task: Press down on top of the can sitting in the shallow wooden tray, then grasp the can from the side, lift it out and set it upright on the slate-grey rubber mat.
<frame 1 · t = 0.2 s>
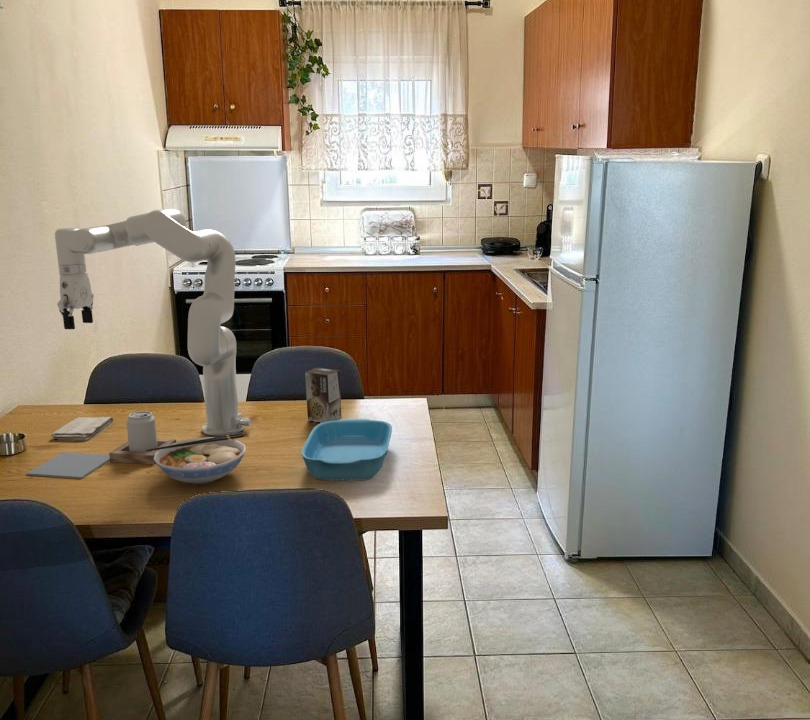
hand: (79, 325, 244), 31 cm above the table, tool pointing down, fingers open, 9 cm apart
casserole dish: (349, 463, 215), on the table
washcloth: (83, 433, 243), on the table
can: (144, 455, 222), resting in shallow wooden tray
ramen bowl: (202, 479, 204), on the table
grey mat: (72, 465, 215), on the table
shallow wooden tray: (144, 454, 222), on the table
coffee box: (324, 421, 250), on the table
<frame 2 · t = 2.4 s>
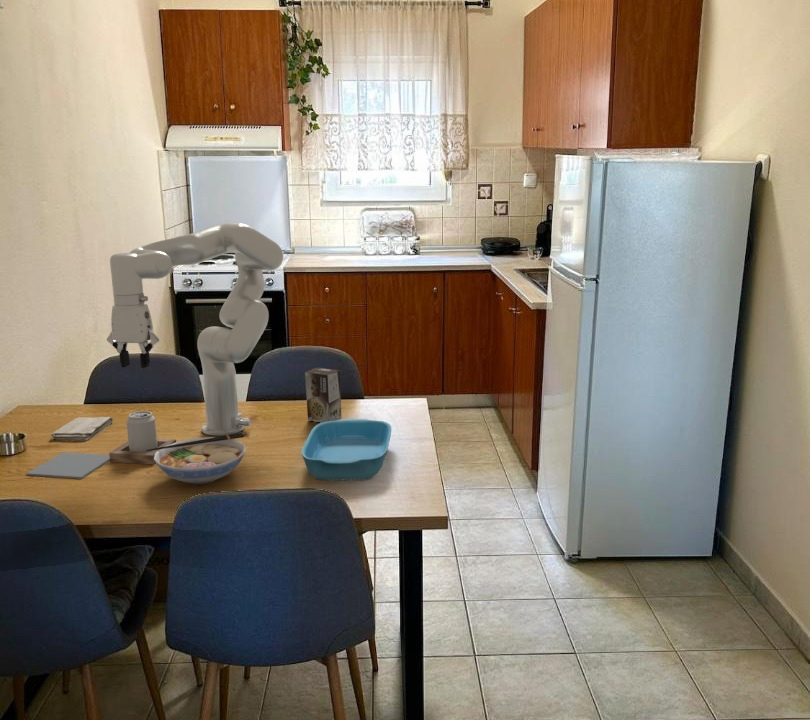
hand: (135, 365, 216), 25 cm above the table, tool pointing down, fingers open, 5 cm apart
nothing on the table moved.
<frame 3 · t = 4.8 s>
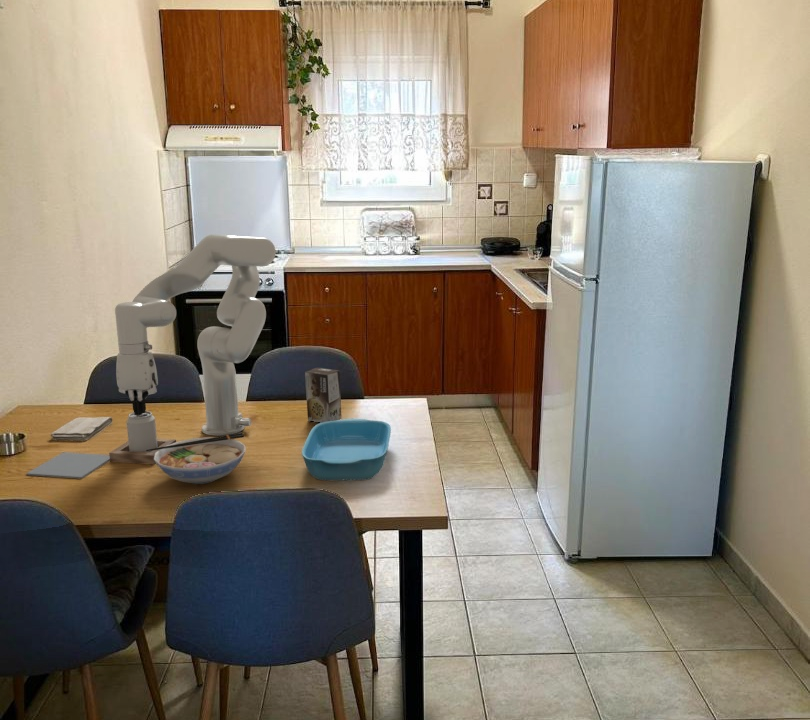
hand: (139, 413, 219), 12 cm above the table, tool pointing down, fingers closed
can: (144, 455, 222), resting in shallow wooden tray, touching gripper
everything else where it was.
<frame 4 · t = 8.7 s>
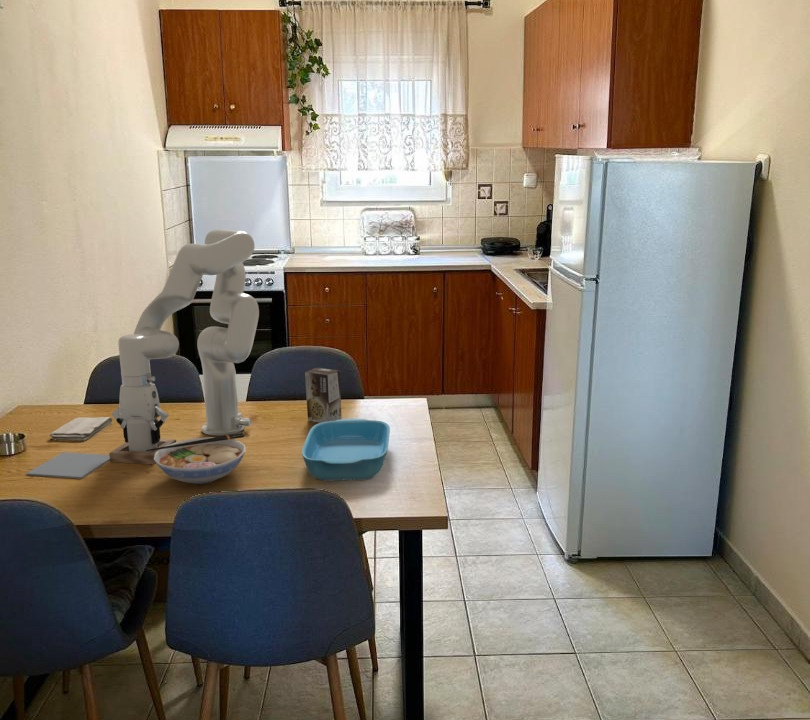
hand: (142, 441, 221), 4 cm above the table, tool pointing down, fingers closed on can, 7 cm apart
can: (143, 455, 222), resting in shallow wooden tray, touching gripper
everything else where it was.
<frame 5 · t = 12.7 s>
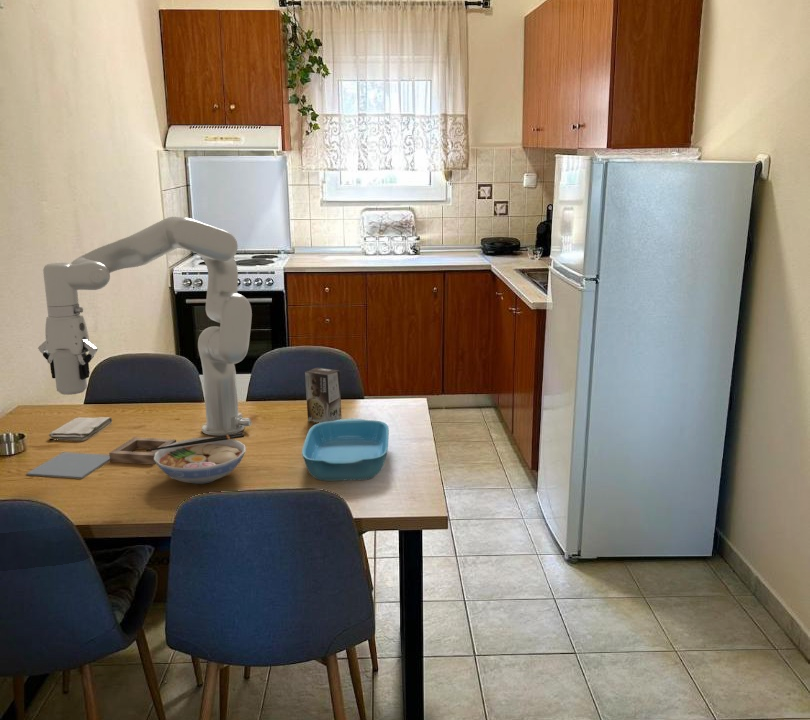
hand: (70, 377, 210), 24 cm above the table, tool pointing down, fingers closed on can, 7 cm apart
can: (72, 392, 211), point 20 cm above the table, touching gripper
everything else where it was.
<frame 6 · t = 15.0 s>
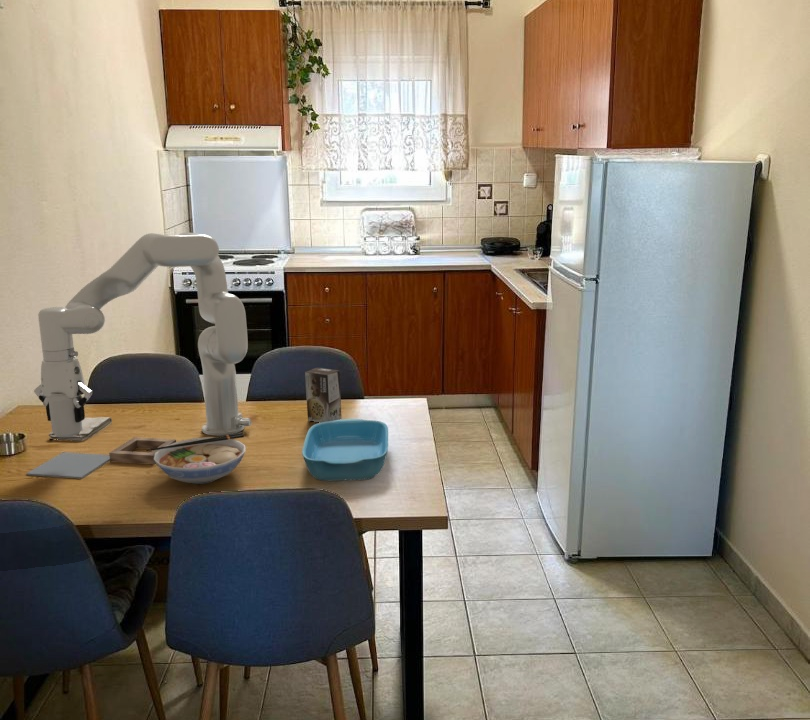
hand: (66, 419, 212), 13 cm above the table, tool pointing down, fingers closed on can, 7 cm apart
can: (67, 434, 213), point 9 cm above the table, touching gripper
everything else where it was.
when the fingers open (6 cm above the table, at t = 17.0 s): can drops 1 cm, resting on grey mat.
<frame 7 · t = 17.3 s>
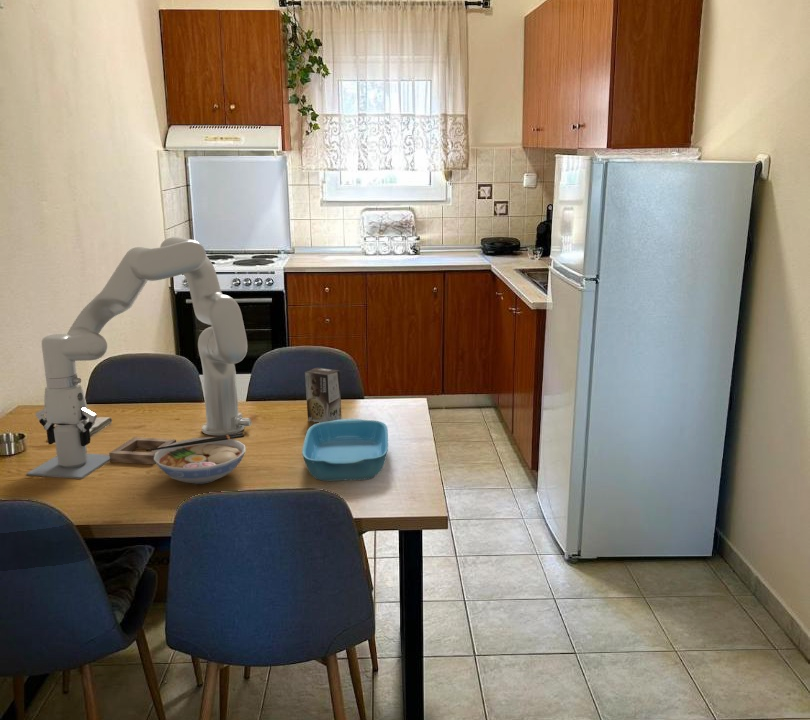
hand: (69, 443, 213), 6 cm above the table, tool pointing down, fingers open, 9 cm apart
can: (73, 464, 215), resting on grey mat
everything else where it was.
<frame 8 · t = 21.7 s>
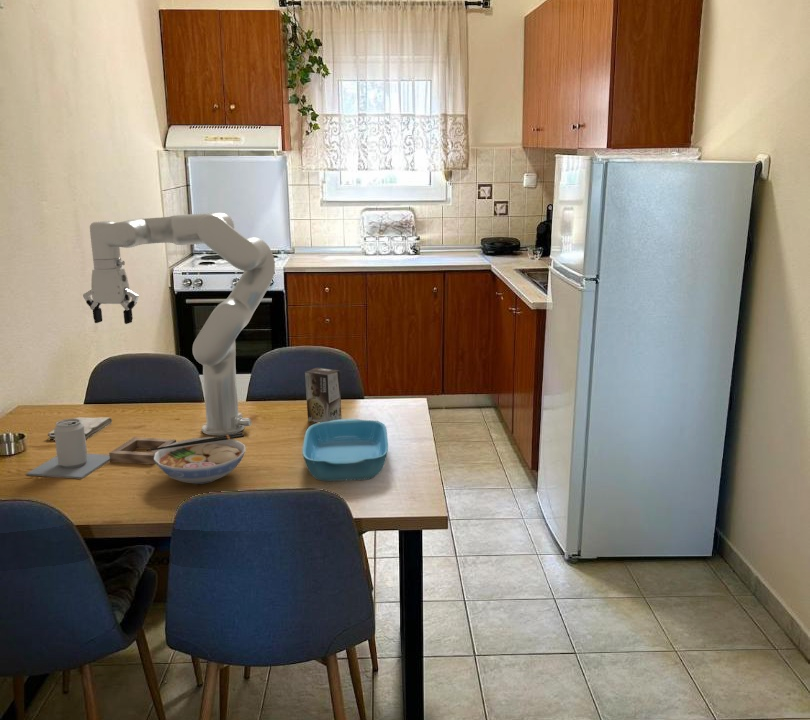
hand: (113, 322, 236), 33 cm above the table, tool pointing down, fingers open, 9 cm apart
at the end: can inside the target area on the grey mat (0.3 cm from its centre), point 0.3 cm above the grey mat's base; can tilted 0°; the gripper is holding nothing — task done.
